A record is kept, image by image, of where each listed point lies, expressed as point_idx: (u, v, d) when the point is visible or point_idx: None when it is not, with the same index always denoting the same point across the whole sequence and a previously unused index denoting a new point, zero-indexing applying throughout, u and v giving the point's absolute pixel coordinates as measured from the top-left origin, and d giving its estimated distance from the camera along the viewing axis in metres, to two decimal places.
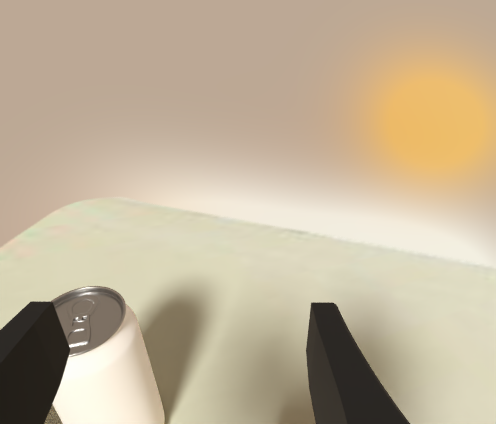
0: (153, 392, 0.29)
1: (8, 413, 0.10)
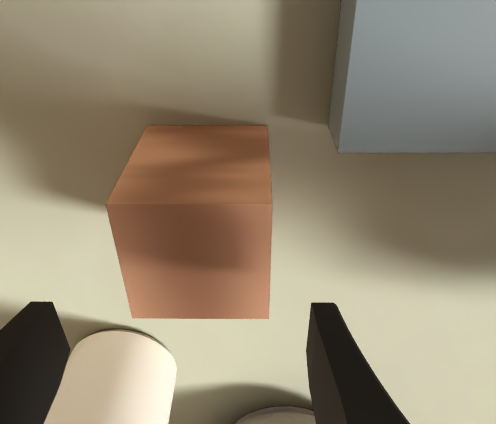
0: (94, 400, 0.21)
1: (8, 413, 0.10)
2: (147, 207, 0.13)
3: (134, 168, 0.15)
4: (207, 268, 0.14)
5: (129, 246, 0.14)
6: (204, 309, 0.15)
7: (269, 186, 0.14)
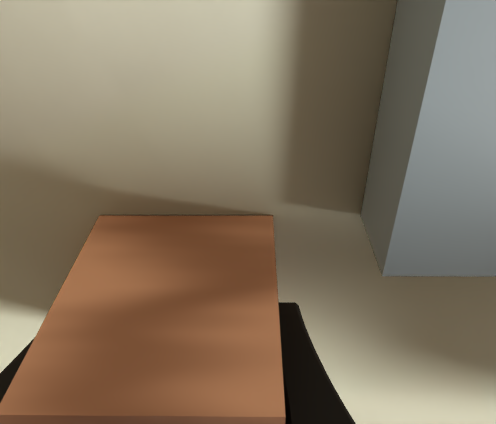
0: None
1: None
2: (67, 419, 0.07)
3: (62, 315, 0.09)
4: None
5: None
6: None
7: (279, 364, 0.08)
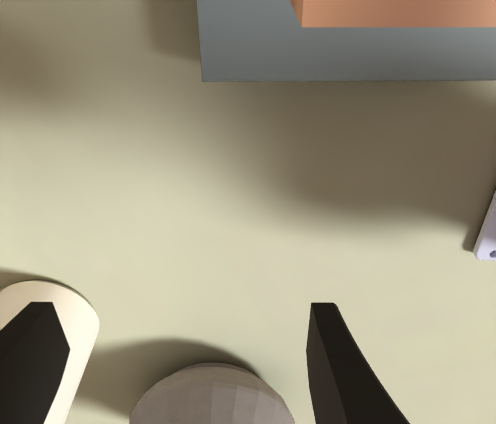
0: None
1: (8, 413, 0.10)
2: None
3: None
4: None
5: None
6: (429, 3, 0.09)
7: None
